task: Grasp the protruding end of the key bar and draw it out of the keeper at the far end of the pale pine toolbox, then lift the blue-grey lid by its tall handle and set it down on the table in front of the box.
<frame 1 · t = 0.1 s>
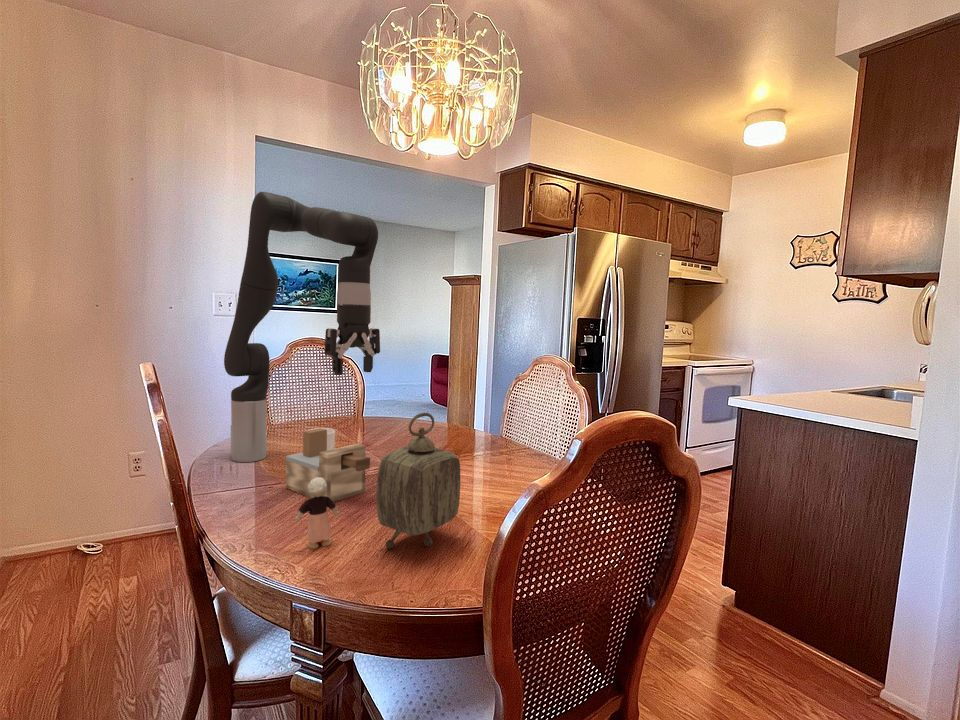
hand: (353, 373, 119), 29 cm above the table, tool pointing down, fingers open, 8 cm apart
key bar: (347, 459, 118), point 9 cm above the table, slide at 0.0 cm
tabletop clock: (420, 544, 97), on the table
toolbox: (325, 490, 124), on the table
lid: (321, 460, 124), point 7 cm above the table, touching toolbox
white cup: (320, 467, 143), on the table
grandmother figurine: (316, 545, 95), on the table
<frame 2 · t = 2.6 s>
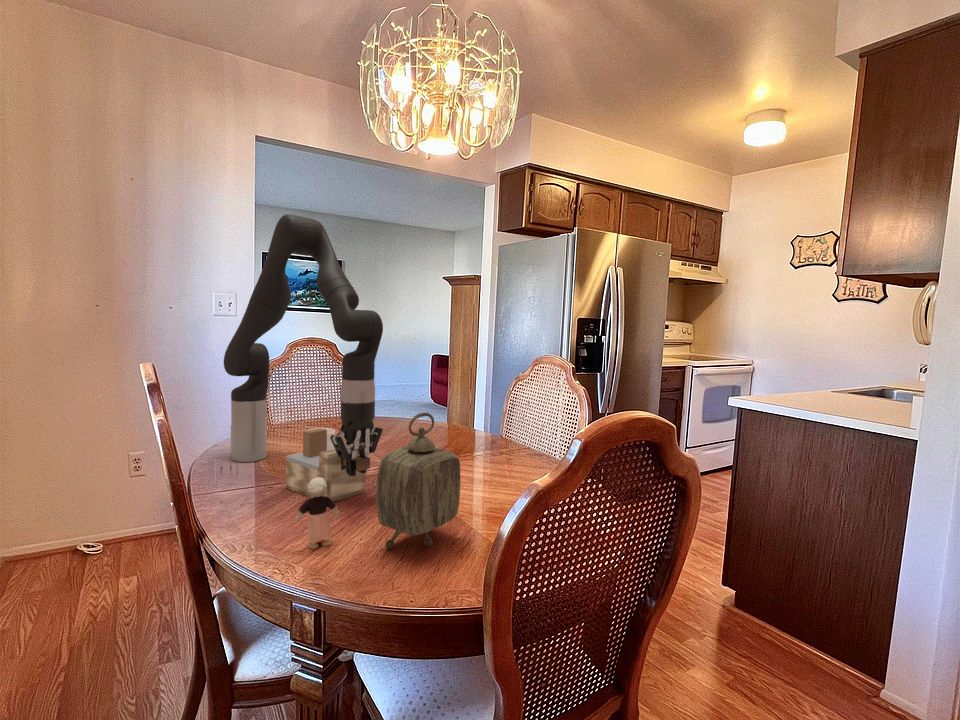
hand: (356, 473, 116), 7 cm above the table, tool pointing down, fingers closed on key bar, 2 cm apart
key bar: (347, 459, 118), point 9 cm above the table, slide at 0.0 cm, touching gripper
everything else where it was.
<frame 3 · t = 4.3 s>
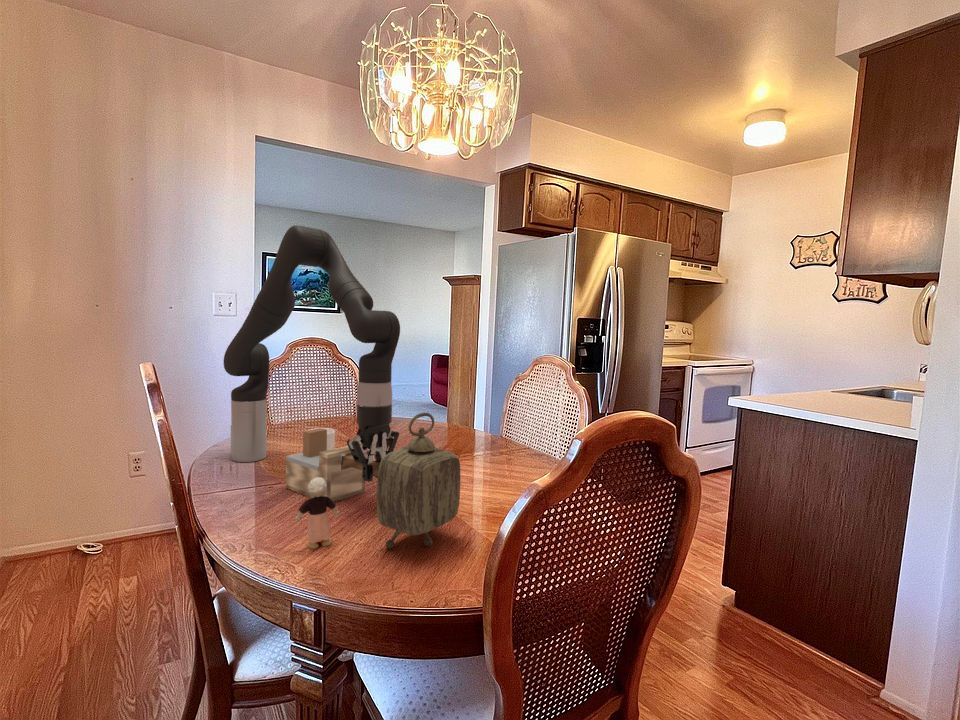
hand: (373, 478, 113), 7 cm above the table, tool pointing down, fingers closed on key bar, 2 cm apart
key bar: (362, 464, 115), point 9 cm above the table, slide at 5.5 cm, touching gripper
everything else where it was.
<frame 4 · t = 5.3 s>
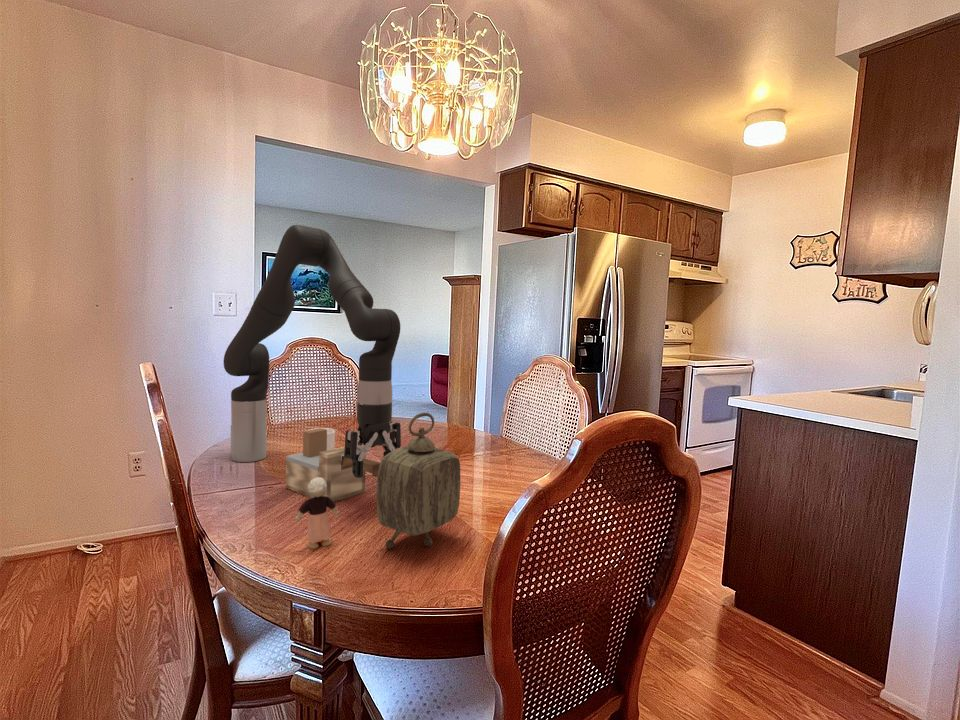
hand: (373, 472, 113), 8 cm above the table, tool pointing down, fingers open, 8 cm apart
key bar: (362, 464, 115), point 9 cm above the table, slide at 5.5 cm
everything else where it was.
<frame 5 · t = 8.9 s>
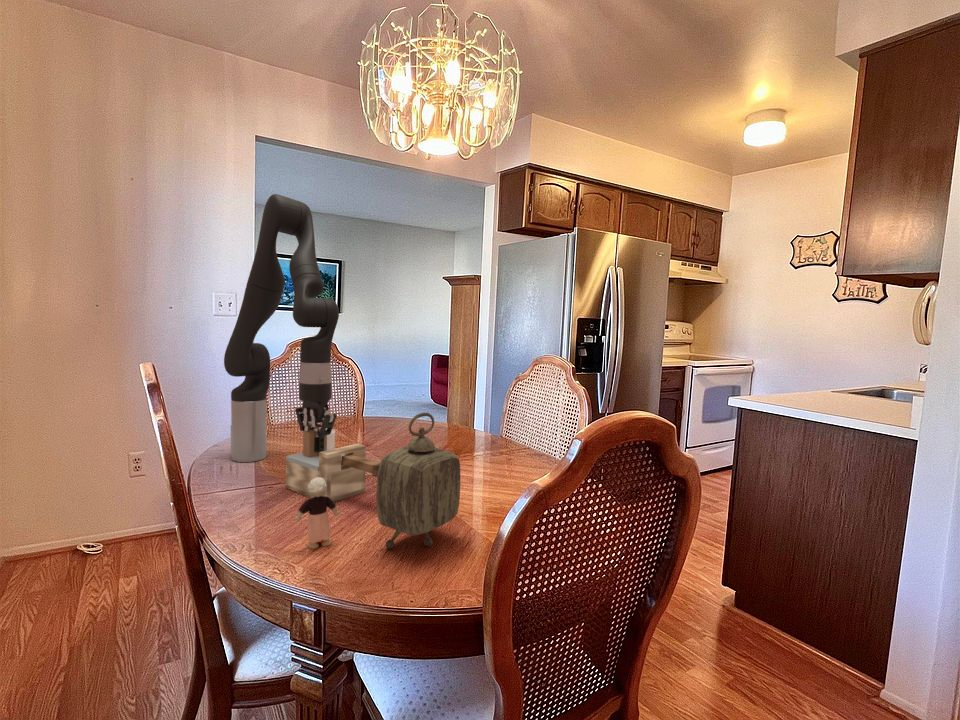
hand: (315, 450, 125), 9 cm above the table, tool pointing down, fingers closed on lid, 2 cm apart
lid: (321, 460, 124), point 7 cm above the table, touching gripper, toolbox
everything else where it was.
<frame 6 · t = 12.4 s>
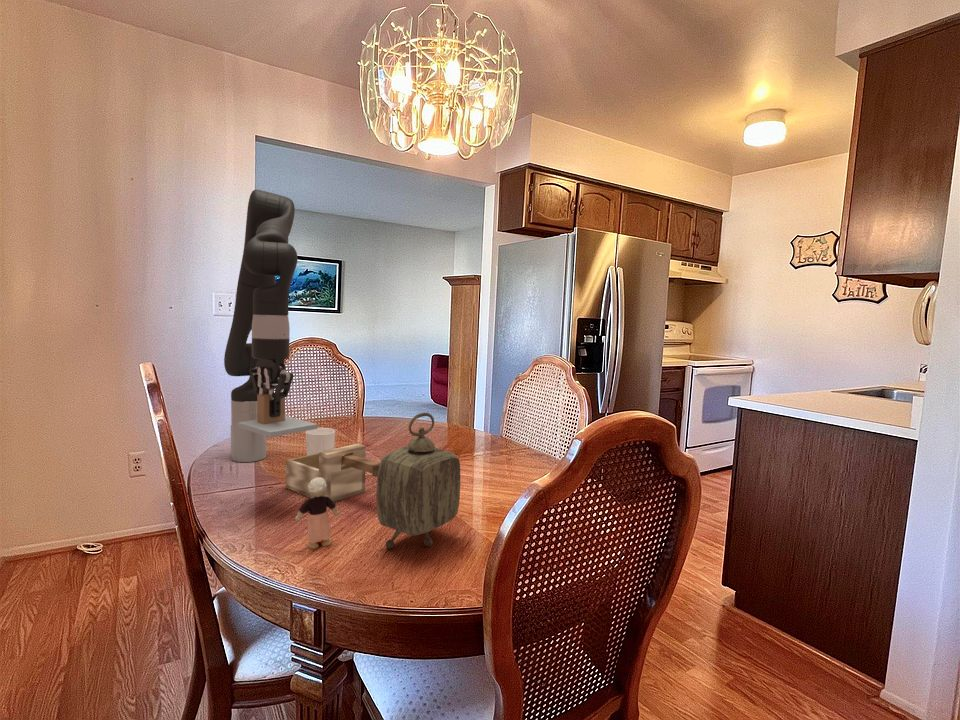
hand: (270, 415, 111), 20 cm above the table, tool pointing down, fingers closed on lid, 2 cm apart
lid: (277, 427, 110), point 18 cm above the table, touching gripper
everything else where it was.
when the fingers open (3 cm above the table, at t = 15.5 s): lid drops 1 cm, on the table.
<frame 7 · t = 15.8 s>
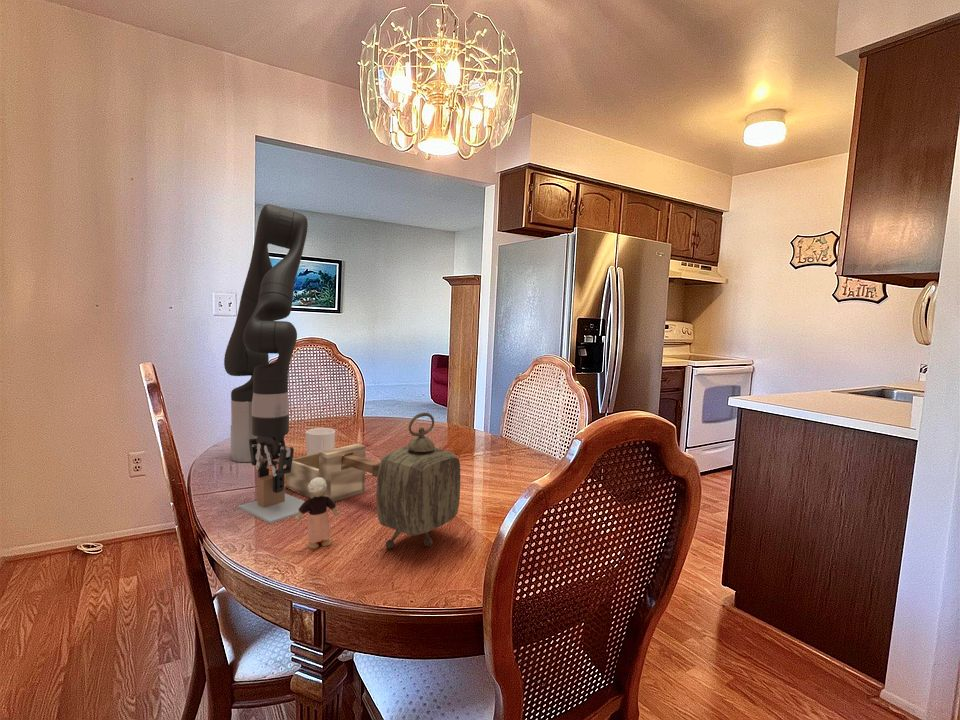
hand: (270, 488, 113), 4 cm above the table, tool pointing down, fingers open, 5 cm apart
lid: (277, 510, 112), on the table
everything else where it was.
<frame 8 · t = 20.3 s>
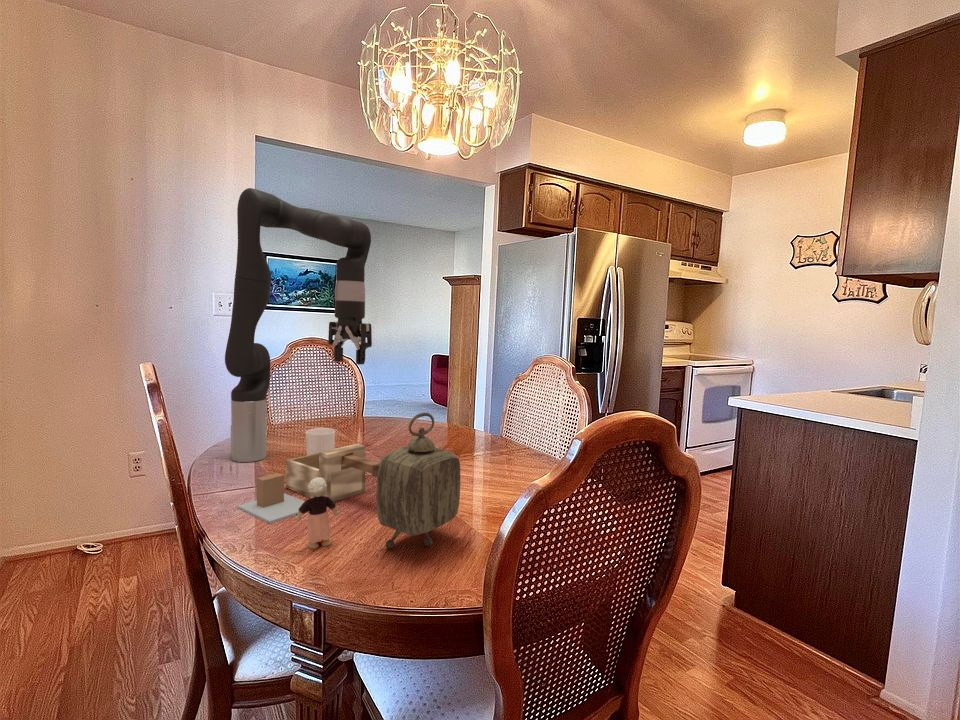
hand: (349, 363, 132), 30 cm above the table, tool pointing down, fingers open, 8 cm apart
nothing on the table moved.
at the end: key bar slide at 5.5 cm; lid inside the target area (1.8 cm from its centre), on the table; lid touching table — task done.
